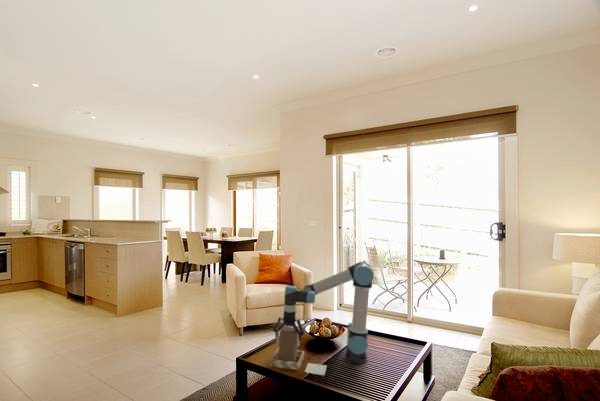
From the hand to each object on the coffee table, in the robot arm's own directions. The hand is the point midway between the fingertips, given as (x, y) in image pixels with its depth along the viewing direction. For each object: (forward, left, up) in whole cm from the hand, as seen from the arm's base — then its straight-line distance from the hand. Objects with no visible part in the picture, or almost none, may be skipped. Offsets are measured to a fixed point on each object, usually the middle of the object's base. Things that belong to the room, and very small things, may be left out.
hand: (287, 344), depth 211 cm
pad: (-19, +5, -11) cm, 23 cm away
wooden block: (0, 0, -11) cm, 11 cm away
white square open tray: (0, 0, -11) cm, 11 cm away
